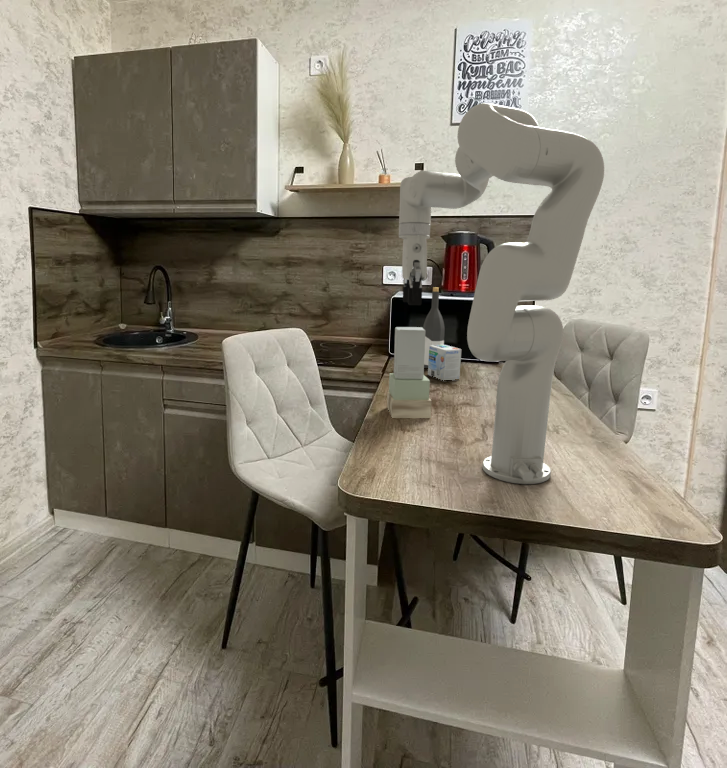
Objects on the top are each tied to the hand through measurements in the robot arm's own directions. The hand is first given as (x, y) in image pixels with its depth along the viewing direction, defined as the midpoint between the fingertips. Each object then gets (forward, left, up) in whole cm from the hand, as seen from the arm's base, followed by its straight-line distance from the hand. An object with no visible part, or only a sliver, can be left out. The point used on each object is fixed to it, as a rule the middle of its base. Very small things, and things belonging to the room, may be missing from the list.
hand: (411, 303), depth 129 cm
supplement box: (+2, 0, -19) cm, 19 cm away
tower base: (+1, 0, -29) cm, 29 cm away
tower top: (+2, 0, -24) cm, 24 cm away
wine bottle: (+62, -18, -29) cm, 71 cm away
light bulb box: (+45, -19, -29) cm, 57 cm away
